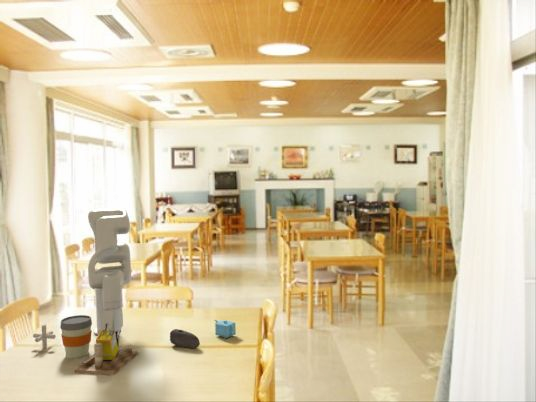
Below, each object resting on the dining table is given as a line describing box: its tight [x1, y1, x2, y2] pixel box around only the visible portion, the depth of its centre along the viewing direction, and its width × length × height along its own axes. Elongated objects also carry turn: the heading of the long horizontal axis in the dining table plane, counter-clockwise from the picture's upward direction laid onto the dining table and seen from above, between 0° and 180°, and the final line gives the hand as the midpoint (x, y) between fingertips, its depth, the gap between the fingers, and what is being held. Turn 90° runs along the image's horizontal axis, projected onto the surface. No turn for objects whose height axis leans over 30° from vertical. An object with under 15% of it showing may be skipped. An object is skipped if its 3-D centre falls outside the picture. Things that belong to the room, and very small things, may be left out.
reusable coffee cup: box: [59, 314, 93, 359], centre depth 208 cm, size 13×13×15 cm
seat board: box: [74, 342, 140, 376], centre depth 198 cm, size 22×16×10 cm
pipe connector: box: [32, 324, 56, 349], centre depth 217 cm, size 10×10×10 cm
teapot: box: [214, 319, 237, 339], centre depth 229 cm, size 12×6×8 cm, turn 52°
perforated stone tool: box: [169, 328, 201, 349], centre depth 215 cm, size 15×5×7 cm, turn 60°
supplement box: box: [95, 330, 120, 361], centre depth 198 cm, size 6×6×11 cm
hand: (114, 347), depth 203 cm, fingers closed
